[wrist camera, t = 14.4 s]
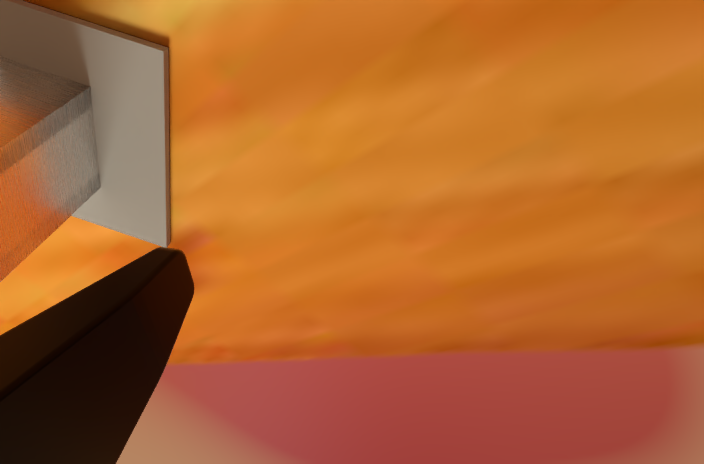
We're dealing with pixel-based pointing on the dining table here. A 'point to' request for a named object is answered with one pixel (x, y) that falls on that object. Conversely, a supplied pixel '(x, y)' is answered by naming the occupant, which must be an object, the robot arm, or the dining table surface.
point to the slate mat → (107, 110)
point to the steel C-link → (42, 157)
